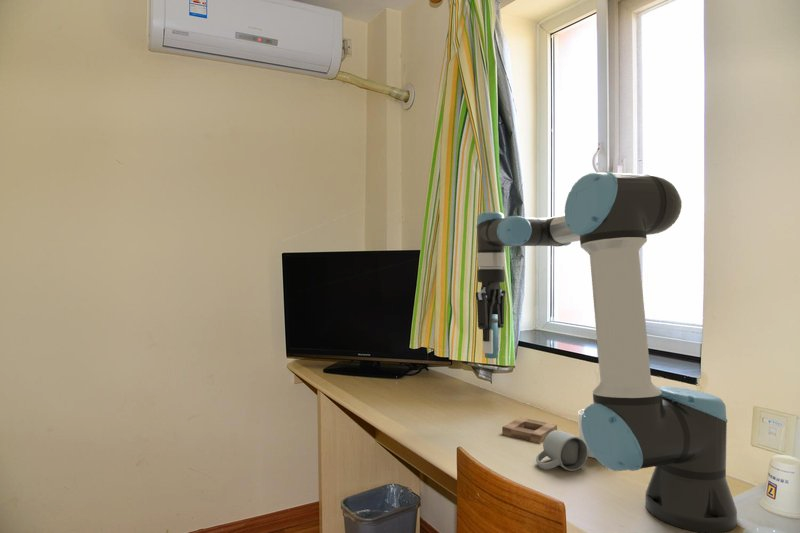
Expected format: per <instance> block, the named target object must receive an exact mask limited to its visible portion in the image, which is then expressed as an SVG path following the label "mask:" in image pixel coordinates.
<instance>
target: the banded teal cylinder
mask: <svg viewBox="0 0 800 533" xmlns="http://www.w3.org/2000/svg"><path fill="white" fill-rule="evenodd" d="M490 330H493V353H492V354H490V353H484V358H485V359H498V357H499V352H498V314H492V321H491V329H490Z"/></svg>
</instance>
